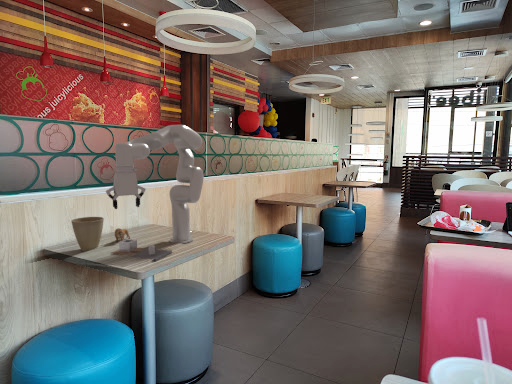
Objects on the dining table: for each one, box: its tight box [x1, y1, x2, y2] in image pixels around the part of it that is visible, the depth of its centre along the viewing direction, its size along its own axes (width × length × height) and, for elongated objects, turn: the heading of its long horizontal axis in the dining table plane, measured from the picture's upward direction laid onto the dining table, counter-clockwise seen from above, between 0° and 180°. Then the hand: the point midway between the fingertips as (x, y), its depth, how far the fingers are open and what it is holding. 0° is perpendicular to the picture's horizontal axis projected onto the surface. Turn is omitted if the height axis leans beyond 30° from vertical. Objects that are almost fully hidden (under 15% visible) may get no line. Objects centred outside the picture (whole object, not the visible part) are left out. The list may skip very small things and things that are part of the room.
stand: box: [111, 247, 147, 256], centre depth 172 cm, size 12×12×4 cm
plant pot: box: [71, 216, 105, 252], centre depth 178 cm, size 15×15×16 cm
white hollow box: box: [118, 238, 138, 253], centre depth 172 cm, size 6×6×5 cm
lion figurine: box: [114, 227, 131, 243], centre depth 193 cm, size 15×5×9 cm, turn 3°
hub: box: [130, 244, 173, 262], centre depth 167 cm, size 14×14×5 cm
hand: (126, 207), depth 159 cm, fingers open, 9 cm apart
